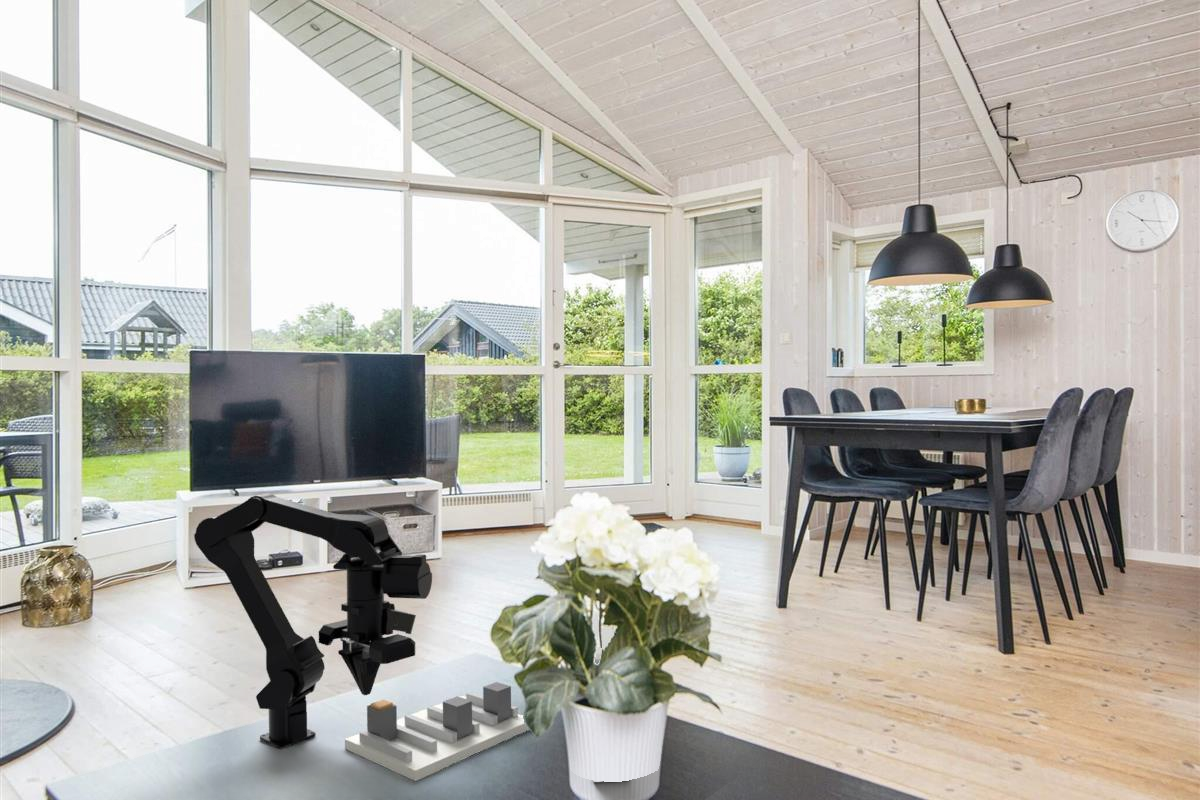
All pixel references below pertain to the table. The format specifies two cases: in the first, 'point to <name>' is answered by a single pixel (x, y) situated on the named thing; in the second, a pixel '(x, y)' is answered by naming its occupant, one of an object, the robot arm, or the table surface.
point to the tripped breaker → (382, 719)
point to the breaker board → (434, 740)
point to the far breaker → (497, 700)
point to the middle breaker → (458, 716)
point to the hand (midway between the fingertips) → (366, 694)
